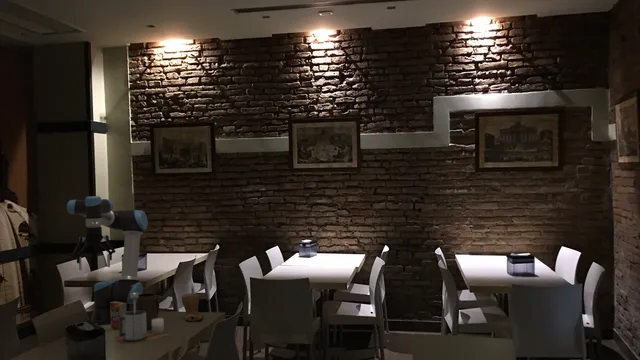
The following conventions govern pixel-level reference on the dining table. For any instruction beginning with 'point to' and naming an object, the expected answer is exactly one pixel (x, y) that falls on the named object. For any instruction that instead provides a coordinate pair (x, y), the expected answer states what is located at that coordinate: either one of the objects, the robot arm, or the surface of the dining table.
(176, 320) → the dining table surface
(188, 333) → the dining table surface
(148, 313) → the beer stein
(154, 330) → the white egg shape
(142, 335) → the grey octagonal container
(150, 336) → the serving board
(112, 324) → the candy box
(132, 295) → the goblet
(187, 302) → the brown boot
